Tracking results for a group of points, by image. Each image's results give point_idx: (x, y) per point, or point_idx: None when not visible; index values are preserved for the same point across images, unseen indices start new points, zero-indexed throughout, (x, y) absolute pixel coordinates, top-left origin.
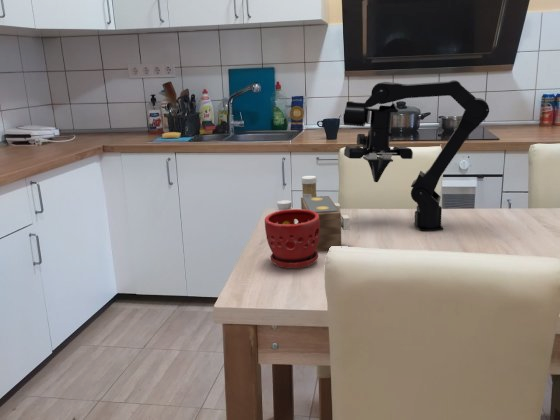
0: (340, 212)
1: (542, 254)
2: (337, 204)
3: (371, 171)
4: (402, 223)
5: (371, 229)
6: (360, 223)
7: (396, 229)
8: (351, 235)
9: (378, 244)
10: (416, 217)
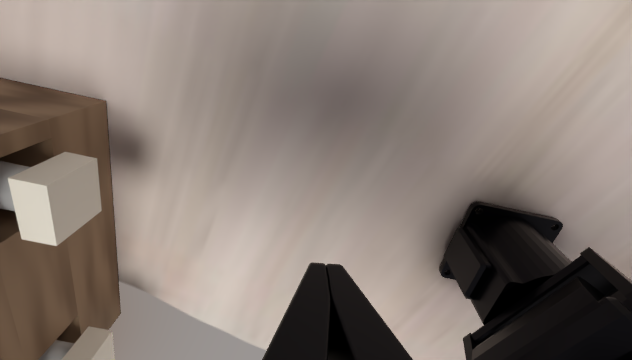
0: (85, 222)
1: None
2: (39, 215)
3: (267, 349)
4: (448, 158)
5: (283, 178)
6: (273, 73)
7: (374, 217)
8: (183, 211)
9: (241, 312)
10: (461, 272)
